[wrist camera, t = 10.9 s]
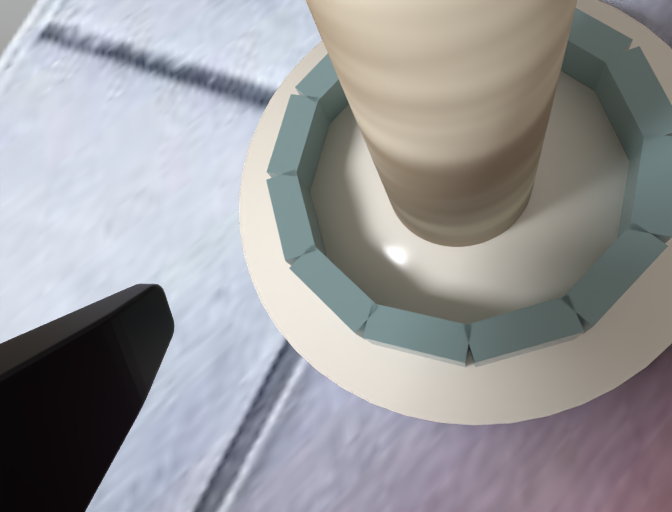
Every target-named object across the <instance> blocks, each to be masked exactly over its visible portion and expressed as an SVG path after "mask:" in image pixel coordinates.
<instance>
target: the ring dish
mask: <svg viewBox="0 0 672 512" xmlns="http://www.w3.org/2000/svg"><path fill="white" fill-rule="evenodd" d="M239 225H240V232H241V239H242V247H243V252H244V256H245V259H246V263H247V267H248V270H249V274H250V277H251V279H252V282H253V284H254V286H255V289H256V291H257V293H258V296H259V298H260V300H261V302H262V304H263V306H264V307H265V309H266V311H267V312H268V314H269V316H270V317H271V319H272V321H273V322H274V324H275V325H276V327H277V328H278V329H279V331H280V332H281V333H282V334H283V336H284V337H285V338H286V339H287V341H288V342H289V343H290V344H291V345H292V347H293V348H294V349H295V350H296V351H297V352H298V353H299V354H300V355H301V356H302V357H303V358H304V359H306V360H307V361H308V362H309V363H310V364H311V365H312V366H313V367H314V368H315V369H316V370H317V371H319V372H320V373H322V374H323V375H324V376H326V377H327V378H329V379H330V380H332V381H333V382H334V383H336V384H337V385H339V386H340V387H342V388H343V389H345V390H347V391H349V392H351V393H353V394H354V395H356V396H358V397H360V398H362V399H364V400H366V401H368V402H370V403H372V404H374V405H377V406H380V407H383V408H386V409H388V410H391V411H394V412H397V413H400V414H402V415H406V416H410V417H415V418H420V419H424V420H429V421H434V422H438V423H451V424H464V425H489V424H507V423H515V422H520V421H525V420H531V419H536V418H541V417H546V416H550V415H553V414H556V413H559V412H562V411H565V410H568V409H571V408H574V407H576V406H579V405H582V404H585V403H587V402H589V401H591V400H593V399H595V398H597V397H599V396H601V395H603V394H605V393H607V392H609V391H611V390H613V389H615V388H617V387H618V386H619V385H621V384H622V383H624V382H625V381H627V380H628V379H630V378H631V377H632V376H634V375H635V374H637V373H638V372H640V371H641V370H643V369H644V368H646V367H647V366H648V365H649V364H650V363H651V362H652V361H653V360H654V359H656V358H657V357H658V356H659V355H660V354H661V353H662V352H663V351H664V350H665V349H666V348H667V347H668V346H670V345H671V344H672V49H671V48H670V47H669V45H667V44H666V43H665V42H664V41H663V40H661V39H660V38H659V37H658V36H657V35H655V34H654V33H653V32H652V31H650V30H649V29H648V28H647V27H646V26H644V25H643V24H641V23H640V22H638V21H636V20H635V19H633V18H632V17H630V16H628V15H627V14H625V13H624V12H622V11H620V10H619V9H617V8H614V7H612V6H610V5H608V4H606V3H604V2H602V1H599V0H577V3H576V8H575V12H574V16H573V20H572V25H571V29H570V33H569V37H568V41H567V46H566V50H565V54H564V58H563V62H562V67H561V71H560V75H559V79H558V83H557V88H556V92H555V96H554V100H553V105H552V109H551V113H550V117H549V121H548V126H547V130H546V134H545V138H544V142H543V147H542V151H541V155H540V159H539V164H538V168H537V172H536V176H535V180H534V185H533V189H532V193H531V196H530V199H529V202H528V204H527V206H526V208H525V210H524V211H523V213H522V215H521V216H520V217H519V218H518V220H517V221H516V222H515V223H514V224H513V225H512V226H511V227H510V228H509V229H507V230H506V231H505V232H503V233H502V234H500V235H499V236H497V237H495V238H493V239H491V240H489V241H486V242H484V243H481V244H477V245H473V246H465V247H449V246H442V245H438V244H434V243H431V242H428V241H426V240H424V239H422V238H420V237H418V236H416V235H415V234H414V233H412V232H411V231H410V230H408V229H407V228H406V227H405V226H404V225H403V224H402V222H401V221H400V220H399V218H398V217H397V215H396V214H395V212H394V210H393V208H392V205H391V203H390V201H389V198H388V196H387V193H386V191H385V189H384V186H383V184H382V181H381V179H380V177H379V174H378V172H377V170H376V167H375V165H374V162H373V160H372V158H371V155H370V153H369V150H368V148H367V146H366V143H365V141H364V138H363V136H362V134H361V131H360V129H359V126H358V124H357V122H356V119H355V117H354V114H353V112H352V110H351V107H350V105H349V103H348V100H347V98H346V95H345V93H344V91H343V88H342V86H341V83H340V81H339V79H338V76H337V74H336V71H335V69H334V67H333V64H332V62H331V59H330V57H329V55H328V52H327V50H326V47H325V45H324V43H323V40H322V41H321V42H320V43H319V44H318V45H317V46H316V47H314V48H313V49H312V50H311V51H310V52H309V53H308V54H307V55H306V56H305V57H304V58H303V59H302V60H301V61H300V62H299V63H298V64H297V66H296V67H295V68H294V69H293V70H292V71H291V72H290V74H289V75H288V76H287V77H286V78H285V80H284V81H283V82H282V84H281V85H280V87H279V88H278V90H277V91H276V93H275V94H274V95H273V97H272V98H271V100H270V102H269V104H268V105H267V107H266V109H265V111H264V113H263V115H262V117H261V119H260V120H259V122H258V125H257V127H256V130H255V132H254V135H253V138H252V140H251V143H250V145H249V148H248V152H247V156H246V160H245V164H244V168H243V172H242V180H241V188H240V196H239Z"/></svg>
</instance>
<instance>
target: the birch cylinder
mask: <svg viewBox="0 0 672 512" xmlns="http://www.w3.org/2000/svg"><path fill="white" fill-rule="evenodd" d="M306 2H307V4H308V7H309V9H310V12H311V14H312V16H313V19H314V21H315V24H316V26H317V28H318V31H319V33H320V36H321V38H322V40H323V43H324V45H325V47H326V50H327V52H328V55H329V57H330V59H331V62H332V64H333V67H334V69H335V71H336V74H337V76H338V79H339V81H340V83H341V86H342V88H343V91H344V93H345V95H346V98H347V100H348V103H349V105H350V107H351V110H352V112H353V114H354V117H355V119H356V122H357V124H358V126H359V129H360V131H361V134H362V136H363V138H364V141H365V143H366V146H367V148H368V150H369V153H370V155H371V158H372V160H373V162H374V165H375V167H376V170H377V172H378V174H379V177H380V179H381V181H382V184H383V186H384V189H385V191H386V193H387V196H388V198H389V201H390V203H391V205H392V208H393V210H394V212H395V214H396V215H397V217H398V218H399V220H400V221H401V222H402V224H403V225H404V226H405V227H406V228H407V229H408V230H410V231H411V232H412V233H414V234H415V235H416V236H418V237H420V238H422V239H424V240H426V241H428V242H431V243H434V244H438V245H442V246H449V247H465V246H473V245H477V244H481V243H484V242H486V241H489V240H491V239H493V238H495V237H497V236H499V235H500V234H502V233H503V232H505V231H506V230H507V229H509V228H510V227H511V226H512V225H513V224H514V223H515V222H516V221H517V220H518V218H519V217H520V216H521V215H522V213H523V211H524V210H525V208H526V206H527V204H528V202H529V199H530V196H531V193H532V189H533V185H534V180H535V176H536V172H537V168H538V164H539V159H540V155H541V151H542V147H543V142H544V138H545V134H546V130H547V126H548V121H549V117H550V113H551V109H552V105H553V100H554V96H555V92H556V88H557V83H558V79H559V75H560V71H561V67H562V62H563V58H564V54H565V50H566V46H567V41H568V37H569V33H570V29H571V25H572V20H573V16H574V12H575V8H576V3H577V0H306Z"/></svg>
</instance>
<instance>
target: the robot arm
mask: <svg viewBox="0 0 672 512" xmlns="http://www.w3.org/2000/svg"><path fill="white" fill-rule="evenodd" d="M173 333H174V320H173V317H172V314H171V311H170V308H169V305H168V301H167V298H166V295H165V292H164V290H163V288H162V287H161V286H159V285H158V284H136V285H134V286H132V287H129V288H127V289H125V290H122V291H120V292H118V293H115V294H113V295H111V296H109V297H106V298H104V299H102V300H99V301H97V302H95V303H93V304H90V305H88V306H86V307H83V308H81V309H79V310H76V311H74V312H72V313H70V314H67V315H65V316H63V317H60V318H58V319H56V320H54V321H51V322H49V323H47V324H44V325H42V326H40V327H38V328H35V329H33V330H31V331H28V332H26V333H24V334H21V335H19V336H17V337H15V338H12V339H10V340H8V341H5V342H3V343H1V344H0V512H85V511H86V509H87V507H88V505H89V504H90V502H91V500H92V498H93V496H94V494H95V493H96V491H97V489H98V487H99V485H100V484H101V482H102V480H103V478H104V476H105V474H106V473H107V471H108V469H109V467H110V465H111V463H112V462H113V460H114V458H115V456H116V454H117V452H118V451H119V449H120V447H121V445H122V443H123V442H124V440H125V438H126V436H127V434H128V432H129V431H130V429H131V427H132V425H133V423H134V421H135V420H136V418H137V416H138V414H139V412H140V410H141V408H142V406H143V404H144V402H145V400H146V398H147V395H148V393H149V391H150V389H151V386H152V384H153V381H154V379H155V377H156V374H157V372H158V370H159V367H160V365H161V362H162V360H163V358H164V355H165V353H166V351H167V348H168V346H169V343H170V341H171V339H172V336H173Z"/></svg>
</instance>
